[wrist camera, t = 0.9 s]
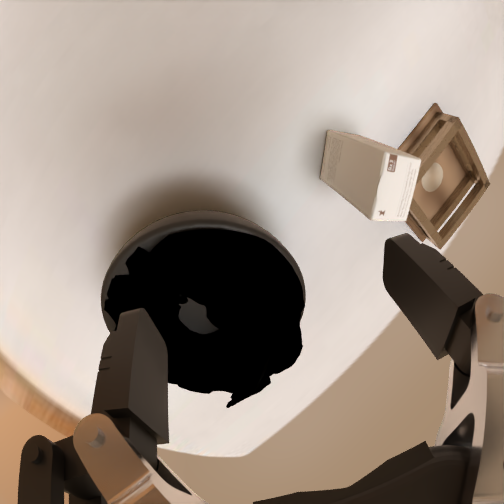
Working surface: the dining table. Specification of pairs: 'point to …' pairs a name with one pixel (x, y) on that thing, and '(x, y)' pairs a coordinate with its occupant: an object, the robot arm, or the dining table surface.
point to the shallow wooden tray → (428, 150)
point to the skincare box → (370, 175)
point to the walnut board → (434, 176)
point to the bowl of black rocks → (212, 299)
